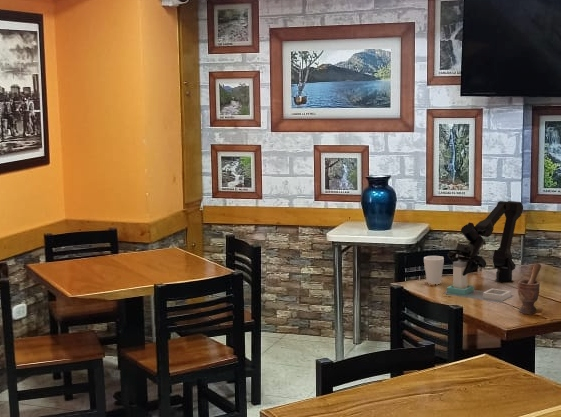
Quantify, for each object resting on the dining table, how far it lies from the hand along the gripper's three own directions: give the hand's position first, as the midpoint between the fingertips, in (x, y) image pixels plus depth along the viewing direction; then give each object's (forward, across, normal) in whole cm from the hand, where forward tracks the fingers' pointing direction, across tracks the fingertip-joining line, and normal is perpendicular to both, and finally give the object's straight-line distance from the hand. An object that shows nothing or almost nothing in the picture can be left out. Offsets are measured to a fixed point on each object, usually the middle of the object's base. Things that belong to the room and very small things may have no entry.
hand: (458, 274), depth 369 cm
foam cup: (+2, -21, +12) cm, 24 cm away
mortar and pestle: (+8, +38, +6) cm, 39 cm away
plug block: (+5, 0, +7) cm, 9 cm away
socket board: (+4, +9, +9) cm, 13 cm away
